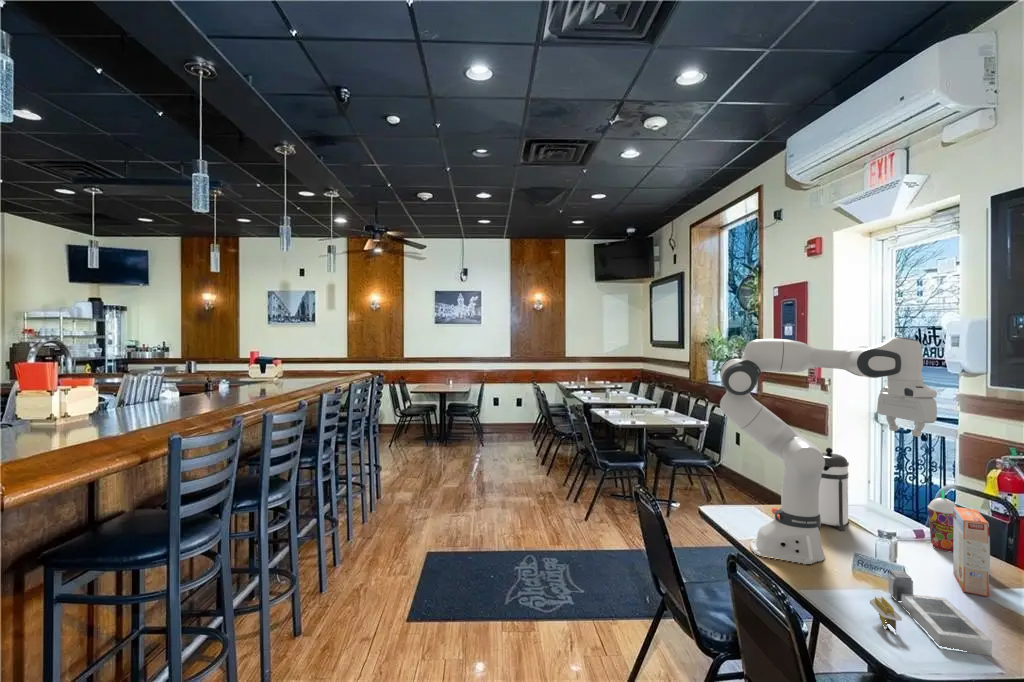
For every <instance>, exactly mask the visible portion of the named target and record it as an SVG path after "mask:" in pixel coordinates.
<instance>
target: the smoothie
mask: <svg viewBox="0 0 1024 682" xmlns="http://www.w3.org/2000/svg"><path fill="white" fill-rule="evenodd" d="M953 507H957V505H956V504H955V503H954V502H953V501H951V499H948V498H946V497H945V489H941V497H936V498H934V499H933V500H931V501H930V503H929V504H928V505H927V513H928V523H929V535H930V543H931V544H932V547H933V548H934V549H936V550H938V549H939V551H942V552H948V551H951V552H954V538H953V534H954V526H953Z"/></svg>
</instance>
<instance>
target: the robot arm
mask: <svg viewBox="0 0 1024 682" xmlns="http://www.w3.org/2000/svg"><path fill="white" fill-rule="evenodd" d="M922 348H923V347H922V344H921V342H919V341H918V340H916V339H915V338H914V339H913V338H910V337H901V336H892V337H890V338H889V339H887V340H885V341H884V342H882V343H879V344H877V345H873V346H870V347H868V346H857V347H853V348H849V349H847V350H846V349H845V350H839V349H823V348H817V347H812V346H811V345H809V344H807V343H805V342H802V341H798V340H792V339H785V338H784V339H783V338H762V339H754V340H750V341H749V342H748V343H747V344H746V346H745V348H744V353H743V356H742V357H732V358H729V359H726V361H724V362H723V364H722V365H721V367H720V376H719V377H720V380H721V383H722V384H723V387H724V389H725V390H726V392H725V394H724V395H723V396H722V397H721V399H720V401H719V408H720V410H721V412H722V413H723V414H724V415H725V416H726V417H727V418H728V419H729V420H730V421H731V422H732V423H733V424H734V425H735V426H736V427H737V428H738V429H740V430H741V431H742V432H744V433H745V434H746V435H748V436H749V437H750V438H752V440H754V441H755V442H756V443H758V444H759V445H760V446H761V447H763V448H764V449H765V450H767V451H768V452H769V453H771V454H772V455H773V456H774V457H776V458H777V459H778V460H779V461H781V462H782V463H783V464H784V475H783V481H782V483H781V487H780V492H781V493H780V494H781V495H780V497H781V498H780V499H781V500H780V501H781V503H780V504H781V505H780V506H781V508H779V509H778V508H777V507H775V506H774V507H772V508H771V513H772V514H773V515H774V519H772V520H771V521H769V522H767V524H766V523H765V525H763V526H761V527H760V528H759V529H758V532H757V535H756V539H755V538H754V539H752V540H750V542H749V548H750V547H751V548H750V550H751V551H753V552H754V555H756V554H757V555H759V556H767V557H773V558H778V559H783V560H787V561H786V562H788V561H792V562H791V563H794V562H798V563H797V564H800V563H803V564H802V565H806V564H811V565H812V563H813V562H814V563H817V561H818V562H822V561H823V560H825V558H826V556H825V553H824V549H823V546H822V545H823V544H822V540H821V533H820V532H821V528H822V527H821V526H822V523H821V518H820V514H819V485H820V480H821V475H822V470H823V469H824V466H825V459H824V456H823V454H822V453H823V452H822V450H820V448H819V447H818V446H817V445H816V444H814V443H813V442H811V441H809V440H808V439H806V438H805V437H803V436H802V435H801V434H799V433H798V432H797V431H796V430H794V428H792V427H791V426H789V425H788V424H787V423H786V422H785V421H783V419H781V418H780V417H778V415H776V414H775V413H774V412H772V411H771V410H769V409H768V408H767V407H766V406H765V405H763V404H762V403H760V401H758V400H757V399H755V398H754V397H753V396H752V395H751V392H752V391H754V389H755V388H756V386H757V384H758V382H759V379H760V377H761V375H762V372H777V373H800V372H804V371H806V370H809V369H813V368H823V369H824V368H825V369H835V370H836V369H837V370H844V371H846V372H849V373H850V374H853V375H854V376H858V377H865V378H871V379H877V378H882V377H887V379H886V380H887V386H883V387H882V388H881V390H880V391H879V394H878V397H877V403H876V404H877V407H876V408H877V409H876V410H877V413H878V415H880V416H886V417H885V418H886V419H885V420H886V422H887V424H888V429H889V431H892V432H898V431H899V425H897V423H896V419H900V420H901V419H902V420H906V421H911V422H913V425H914V428H913V429H912V430H911V436H912V437H917V438H920V437H922V431H923V429H924V427H926V426H925V425H926V424H935V422H936V421H937V417H938V416H937V415H938V412H937V411H938V408H937V401H936V399H935V398H937V395H938V392H937V391H936V390H935V389H934V388H932V387H929V386H928V385H927V384H925V383H924V378H923V376H922V375H923V374H922V370H923V367H924V355H923V349H922ZM753 542H755V543H753ZM753 552H752V553H753ZM757 555H756V556H757ZM759 556H758V557H759ZM814 563H813V564H814Z"/></svg>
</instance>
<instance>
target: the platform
mask: <svg viewBox="0 0 1024 682" xmlns="http://www.w3.org/2000/svg"><path fill="white" fill-rule="evenodd" d="M869 604H870V605H871V606H872V608H874V610H875V611H876V612H877V613H878V615H879V619H880V622H881V624H882V626H883V625H884V626H885V625H886V624H890V625H891V626H892V627H893V628H894V629H895V630H896V631H897V621H898V622H899V621H900V622H901V621H903V617H902V616H901V615H900V614H899V613H898V612H897V611H896V610H895V607H893V606H892V605H891V604H890V602H888V600H887V599H885V598H884V597H883V596H881V597H880V598H879V597H877V596H874V598H873V599H870V600H869ZM885 620H886V621H885ZM885 622H887V623H885ZM885 627H886V626H885Z"/></svg>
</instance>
